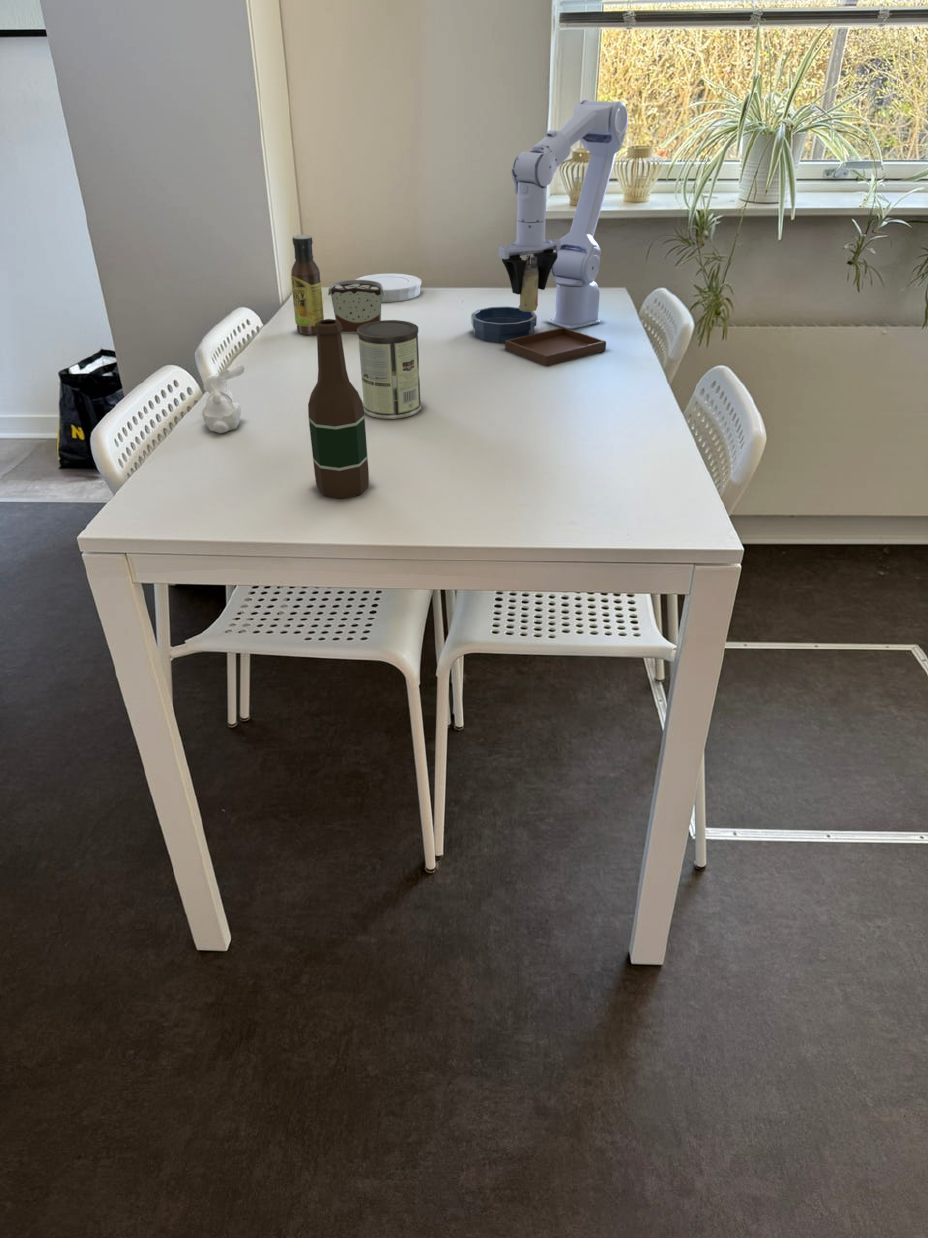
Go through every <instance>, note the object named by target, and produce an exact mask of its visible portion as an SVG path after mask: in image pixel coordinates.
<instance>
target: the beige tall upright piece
mask: <svg viewBox="0 0 928 1238" xmlns="http://www.w3.org/2000/svg"><path fill="white" fill-rule="evenodd" d="M524 260H525V261H527V262H526V265H525V269H524V273H523V282H522V291H521V294H519V306H518V308H519V310H521V311H525V312H531V311H533V312H535V311H537V308H538V307H539V306H538V305H539V303H538V300H539V298H538V297H539V289H538V277H539V271H538V265H537V256H534V255H533V256H531V254H528V255H526V259H524Z"/></svg>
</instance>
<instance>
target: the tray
mask: <svg viewBox="0 0 928 1238" xmlns="http://www.w3.org/2000/svg"><path fill="white" fill-rule="evenodd" d="M606 348H607V341H606V340H603V339H600V338H598V337H594V336H591V335H588V334H586V333H583V332H579V331H577V330H574V329H568V328H565V327H558V328H553V329H549V330H544V331H541V332H537V333H534V334H531V335H527V336H523V337H518V338H514V339H510V340H505V343H504V351H506V352H508V353H511V354H513V355H516V356H519V357H522V358H525V359H527V360H529V361H532V362H534V363H537V364H539V365H541V366H544V367H549V366H552V365H556V364H559V363H564V362H567V361H572V360H575V359H579V358H584V357H586V356H591V355H594V354H599V353H603V352H606V350H607V349H606Z"/></svg>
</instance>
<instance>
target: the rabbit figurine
mask: <svg viewBox="0 0 928 1238" xmlns="http://www.w3.org/2000/svg"><path fill="white" fill-rule="evenodd" d="M244 373H245V366H244V364H242V363H241V364H238V365H237V366H234V367H232V368H231V369H227V368H226V369H224V370H221V372H220V373H217V374H211V375H208V376H207V377H206V378H205V380H204V382H203V390H204V391H205V392H206V393H209V395H208V396H207V398H206V402H205V404H204V405H203V406H202V409H201V412H202V417H203V421H204V423H205V425H206V426H207V428H208V429H209V431H210V432H216V433H218V434H224V433H227V432H228V431H233V430H237V428H238V426H239V425H240V418H241V413H242V410H241V405H240V404H239V403H237V402H235V397H234V396H233V394H232V393H231V391H230V389H228V388H229V387H228V383H227V381H229V380H231V379H234V378H237V377H239V376H241V375H243V374H244Z"/></svg>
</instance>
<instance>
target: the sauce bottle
mask: <svg viewBox="0 0 928 1238" xmlns="http://www.w3.org/2000/svg"><path fill="white" fill-rule="evenodd" d="M313 243H314V241H313V237H312V235H310V234H297V235H293V236H292V245H293V250H294V259H295V260H294V263H293V265H292V267H291V271H290V273H291V274H290V281H291V291H292V301H293V302H292V303H293V311H294V321H295V324H296V330H297V333H299V334H300V335H301V334H302V335H305V336H317V332H316V331H315V330H314V328H315V323H317V322H318V321H320V320H325V315H324V304H323V292H322V291H323V290H322V280H321V272H320V268H319V266H318V265H317V263H316V262H315V261H314V255H313Z"/></svg>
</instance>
